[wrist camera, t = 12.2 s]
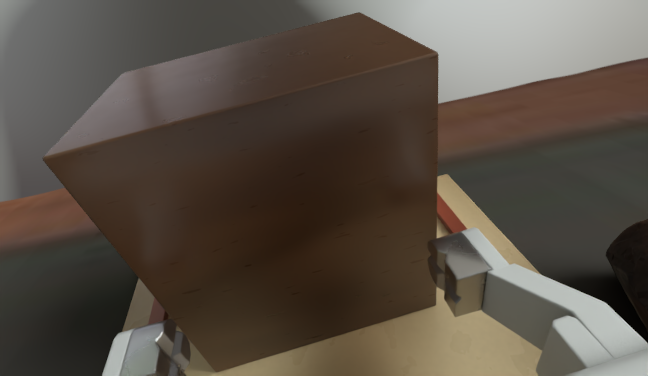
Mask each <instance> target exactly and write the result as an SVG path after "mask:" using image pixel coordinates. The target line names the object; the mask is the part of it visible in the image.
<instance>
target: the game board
mask: <svg viewBox="0 0 648 376" xmlns="http://www.w3.org/2000/svg"><path fill="white" fill-rule="evenodd" d="M473 227H475V228H477V229H479V230H480V232H481V233H482V234H483V235H484V236H485V237H486V238H487V240H488V241H489V242H490V243H491V244H492V245H493V246H494V247H495V249H496V250H497V251H498V252H499V253H500V254H501V255H502V257H503V258H504V259H505V260H506V261H507V262H508V263H509V265H510V264H514V263H515V264H517V265H519V266H522V267H524V268H526V269H529V270H531V271H533V272H536V273H538V274H540V273H539V272H538V271H537V270H536V269H535V268H534V267H533V266H532V265H531V264H530V263H529V261H528V260H527V259H526V258H525V257H524V256H523V255H522V254H521V253H520V252H519V251H518V250H517V249H516V248H515V246H514V245H513V244H512V243H511V242H510V241H509V240H508V239H507V238H506V237H505V236H504V235H503V234H502V232H501V231H500V230H499V229H498V228H497V227H496V226H495V225H494V224H493V223H492V222H491V221H490V220H489V219H488V217H487V216H486V215H485V214H484V213H483V212H482V211H481V210H480V209H479V208H478V207H477V206H476V205H475V203H474V202H473V201H472V200H471V199H470V198H469V197H468V196H467V195H466V194H465V193H464V192H463V191H462V190H461V188H460V187H459V186H458V185H457V184H456V183H455V182H454V181H453V180H452V179H451V178H450V177H449V176H448V174H445V175H441V176H438V177H437V238H440V237H443V236H446V235H449V234H452V233H456V232H460V231H463V230H467V229H470V228H473ZM540 275H541V274H540ZM168 319H172V318H171V317H170V316H169V314H168V313H167V312H166V311H165V309H164V308H163V307H162V306H161V305H160V303H159V302H158V301H157V300H156V298H155V297H154V296H153V295H152V294H151V292H150V291H149V290H148V289H147V287H146V286H145V285H144V284H143V282H142V281H141V280H140V279H139V278H138V282H137V285H136V288H135V291H134V295H133V298H132V301H131V304H130V308H129V311H128V314H127V317H126V321H125V324H124V327H123V330H122V332H124V331H128V330H131V329H135V328H138V327H142V326H146V325H149V324H153V323H157V322H160V321H164V320H168ZM172 320H173V319H172ZM176 330H177V331H180V332H182V330H181V329H180V328H179V327H178V325H177V327H176ZM187 339H188V338H187ZM188 341H189V343H190V351H191V357H190V364H189V365H188V367H187V368H186V370H185V371H184V373H185V374H186V376H539V375H538V374H537V372H536V367H537V364H538V361H539V358H540V355H541V353H542V350H540V349H539V348H537V347H536V346H534V345H533V344H531V343H530V342H528V341H526V340H525V339H523V338H522V337H520V336H519V335H517V334H516V333H514V332H513V331H511V330H510V329H508V328H507V327H505V326H504V325H502V324H501V323H499V322H498V321H496V320H495V319H493V318H491V317H490V316H488V315H487V314H485V313H484V312H482V310H479V311H476V312H472V313H468V314H465V315H461V316H458V317H455V316H454V315H453V313H452V311H451V310H450V308H449V306H448V305H447V303H446V301H445V300H444V291H443V290H441V289H439V288H438V287H437V294H436V306H433V307H429V308H426V309H423V310H420V311H416V312H413V313H410V314H407V315H403V316H400V317H397V318H393V319H390V320H387V321H384V322H380V323H377V324H374V325H371V326H367V327H364V328H361V329H358V330H354V331H351V332H348V333H344V334H341V335H338V336H335V337H331V338H328V339H325V340H322V341H318V342H315V343H312V344H309V345H305V346H302V347H299V348H295V349H292V350H289V351H286V352H282V353H279V354H276V355H273V356H269V357H266V358H263V359H260V360H256V361H253V362H250V363H246V364H243V365H240V366H237V367H233V368H230V369H227V370H224V371H220V372H215V371H214V370H213V368H212V367H211V366H210V365H209V364H208V362H207V361H206V360H205V359H204V357H203V356H202V355H201V354H200V353H199V351H198V350H197V349H196V348H195V346H194V345H193V344H192V343H191V341H190V340H189V339H188Z"/></svg>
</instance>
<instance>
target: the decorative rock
mask: <svg viewBox="0 0 648 376" xmlns="http://www.w3.org/2000/svg"><path fill="white" fill-rule="evenodd" d="M606 256H607V258H608V260H609V262H610V264H611V266H612V268H613V270H614V272H615V274H616V276H617V278H618V280H619V282H620V283H621V285H622V287H623V289H624V291H625V293H626V295H627V297H628V298H629V300H630V302H631V303H632V305H633V306H634V308H635V310H636V312H637V314H638V315H639V317H640V319H641V321H642V322H643V324H644V325H645V327H646V329H647V332H648V219H647V220H644V221H640V222H637V223H635V224H633V225H632V226H630V227H629V228H627V229H626V230H624V231H623V232H622V233H621V234H620V235H619V236H618V237H617V238H616V239H615V240H614V241H613V242H612V244H611V245H610V247H609V248H608V249H607V252H606Z"/></svg>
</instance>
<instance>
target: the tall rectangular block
mask: <svg viewBox="0 0 648 376" xmlns="http://www.w3.org/2000/svg"><path fill="white" fill-rule="evenodd" d="M437 159H438V53H437V52H436V51H434V50H432V49H430V48H428V47H426V46H424V45H422V44H420V43H418V42H416V41H414V40H412V39H410V38H408V37H407V36H405V35H403V34H401V33H399V32H397V31H395V30H393V29H391V28H389V27H387V26H385V25H383V24H381V23H379V22H377V21H375V20H373V19H371V18H369V17H367V16H365V15H364V14H361V13H355V14H351V15H347V16H343V17H339V18H336V19H331V20H327V21H324V22H320V23H316V24H312V25H308V26H304V27H300V28H296V29H292V30H288V31H285V32H281V33H277V34H273V35H269V36H265V37H262V38H257V39H253V40H250V41H246V42H242V43H238V44H234V45H230V46H226V47H222V48H218V49H215V50H211V51H207V52H203V53H199V54H195V55H192V56H187V57H183V58H180V59H176V60H172V61H168V62H164V63H160V64H156V65H152V66H148V67H144V68H141V69H137V70H133V71H129V72H125V73H122V74H121V75H120V76H119V77H118V79H117V80H116V81H115V82H114V83H113V84H112V85H111V86H110V87H109V88H108V89H107V90H106V91H105V92H104V93H103V94H102V95H101V97H100V98H99V99H98V100H97V101H96V102H95V103H94V104H93V105H92V106H91V107H90V108H89V109H88V110H87V111H86V112H85V113H84V114H83V116H82V117H81V118H80V119H79V120H78V121H77V122H76V123H75V124H74V125H73V126H72V127H71V128H70V129H69V130H68V131H67V132H66V133H65V135H63V137H62V138H61V139H60V140H59V141H58V142H57V143H56V144H55V145H54V146H53V147H52V148H51V149H50V150H49V151H48V152H47V153H46V154H45V155H44V157H43V161H44V162H45V163H46V164H47V166H48V167H49V168H50V169H51V170H52V172H53V173H54V174H55V175H56V177H57V178H58V179H59V180H60V181H61V183H62V184H63V185H64V187H65V188H66V189H67V190H68V191H69V193H70V194H71V195H72V196H73V198H74V199H75V200H76V201H77V203H78V204H79V205H80V206H81V207H82V209H83V210H84V211H85V212H86V214H87V215H88V216H89V217H90V219H91V220H92V221H93V222H94V223H95V225H96V226H97V227H98V228H99V230H100V231H101V232H102V233H103V235H104V236H105V237H106V238H107V239H108V241H109V242H110V243H111V244H112V246H113V247H114V248H115V249H116V250H117V252H118V253H119V254H120V255H121V257H122V258H123V259H124V260H125V262H126V263H127V264H128V265H129V266H130V268H131V269H132V270H133V271H134V273H135V274H136V275H137V276H138V278H139V279H140V280H141V281H142V282H143V284H144V285H145V286H146V287H147V289H148V290H149V291H150V292H151V294H152V295H153V296H154V297H155V298H156V300H157V301H158V302H159V303H160V305H161V306H162V307H163V308H164V309H165V311H166V312H167V313H168V314H169V316H170V317H171V318H172V319H173V321H174V322H175V323H176V324H177V325H178V327H179V328H180V329H181V330H182V332H183V333H184V334H185V335H186V337H187V338H188V339H189V340H190V341H191V343H192V344H193V345H194V346H195V348H196V349H197V350H198V351H199V353H200V354H201V355H202V356H203V357H204V359H205V360H206V361H207V362H208V364H209V365H210V366H211V367H212V368H213V370H214V371H215V372H220V371H224V370H227V369H230V368H233V367H237V366H240V365H243V364H246V363H250V362H253V361H256V360H260V359H263V358H266V357H269V356H273V355H276V354H279V353H282V352H286V351H289V350H292V349H295V348H299V347H302V346H305V345H309V344H312V343H315V342H318V341H322V340H325V339H328V338H331V337H335V336H338V335H341V334H344V333H348V332H351V331H354V330H358V329H361V328H364V327H367V326H371V325H374V324H377V323H380V322H384V321H387V320H390V319H393V318H397V317H400V316H403V315H407V314H410V313H413V312H416V311H420V310H423V309H426V308H429V307H433V306H436V294H437V286H436V284H435V283H434V281H433V279H432V276H431V274H430V271H429V267H428V258H429V257H430V255H431V254H430V252H429V251H428V242H429V241H430V240H433V239H437Z"/></svg>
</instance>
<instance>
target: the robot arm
mask: <svg viewBox="0 0 648 376" xmlns="http://www.w3.org/2000/svg"><path fill="white" fill-rule="evenodd" d="M428 251H429V252H430V254H431V255H430V257H429V258H428V267H429V271H430V274H431V276H432V279H433V281H434V283H435V284H436V286H437V287H438V288H439V289H441V290H443V291H444V300H445V301H446V303H447V305H448V306H449V308H450V310H451V311H452V313H453V315H454V316H455V317H458V316H461V315H465V314H468V313H472V312H476V311H479V310H482V312H484V313H485V314H487V315H488V316H490V317H491V318H493V319H495V320H496V321H498V322H499V323H501V324H502V325H504V326H505V327H507V328H508V329H510V330H511V331H513V332H514V333H516V334H517V335H519V336H520V337H522V338H523V339H525V340H526V341H528V342H530V343H531V344H533V345H534V346H536V347H537V348H539V349H540V350H542V353H541V355H540V358H539V361H538V364H537V367H536V372H537V374H538V375H539V376H648V343H647V342H646V341H645V340H644V339H643V338H642V337H641V336H640V335H639V334H638V333H637V332H636V331H635V330H634V329H633V328H632V327H630V326H629V325H628V324H627V323H626V322H625V321H624V320H623V319H622V318H621V317H620V316H619V315H618V314H617V313H616V312H615V311H614V310H613V309H612V308H611V307H610V306H609V305H608V304H606V303H605V302H603V301H601V300H598V299H596V298H594V297H592V296H589V295H587V294H585V293H582V292H580V291H578V290H575V289H573V288H571V287H568V286H566V285H564V284H561V283H559V282H557V281H554V280H552V279H550V278H547V277H545V276H543V275H540V274H538V273H536V272H533V271H531V270H529V269H526V268H524V267H522V266H519V265H517V264H515V263H514V264H510V265H509V263H508V262H507V261H506V260H505V259H504V258H503V257H502V255H501V254H500V253H499V252H498V251H497V250H496V249H495V247H494V246H493V245H492V244H491V243H490V242H489V241H488V240H487V238H486V237H485V236H484V235H483V234H482V233H481V232H480V230H479V229H477V228H475V227H473V228H470V229H467V230H463V231H460V232H456V233H452V234H449V235H446V236H443V237H440V238H437V239H433V240H430V241H429V242H428ZM176 327H177V324H176V323H175V322H174V321H173V320H172V319H168V320H164V321H160V322H157V323H153V324H149V325H146V326H142V327H138V328H135V329H131V330H128V331H124V332H121V333H118V334H117V336H116V337H115V338H114V340H113V343H112V346H111V349H110V352H109V355H108V358H107V362H106V365H105V368H104V371H103V374H102V376H186V374H185V373H184V371H185V370H186V368H187V367H188V365H189V364H190V357H191V351H190V343H189V341H188V339H187V337H186V335H185V334H184V333H183V332H180V331H177V330H176Z"/></svg>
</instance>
